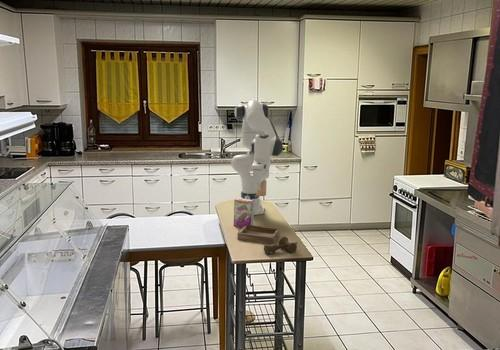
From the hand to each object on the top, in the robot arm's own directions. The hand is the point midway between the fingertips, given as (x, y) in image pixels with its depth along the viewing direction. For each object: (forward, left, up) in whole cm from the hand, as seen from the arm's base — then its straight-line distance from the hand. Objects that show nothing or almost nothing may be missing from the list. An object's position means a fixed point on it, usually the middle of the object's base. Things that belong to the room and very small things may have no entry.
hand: (261, 188), depth 246 cm
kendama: (+16, +17, -28) cm, 37 cm away
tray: (+1, 0, -28) cm, 28 cm away
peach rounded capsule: (0, 0, -4) cm, 4 cm away
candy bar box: (-14, -14, -28) cm, 35 cm away
